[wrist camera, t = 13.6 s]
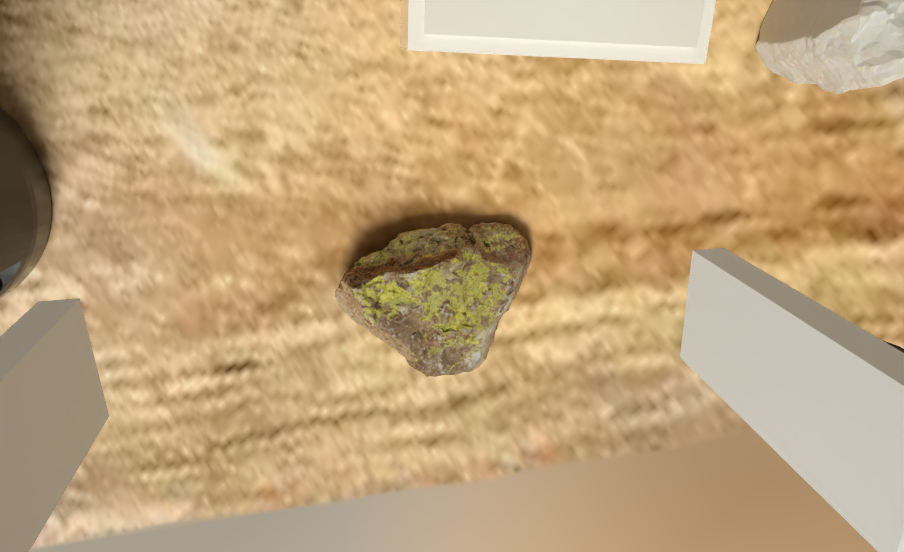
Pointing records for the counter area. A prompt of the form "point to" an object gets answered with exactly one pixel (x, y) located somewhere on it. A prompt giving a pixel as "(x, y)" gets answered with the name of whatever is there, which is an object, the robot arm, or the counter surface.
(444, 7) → the plinth
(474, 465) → the counter surface
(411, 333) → the rock
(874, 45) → the stone
